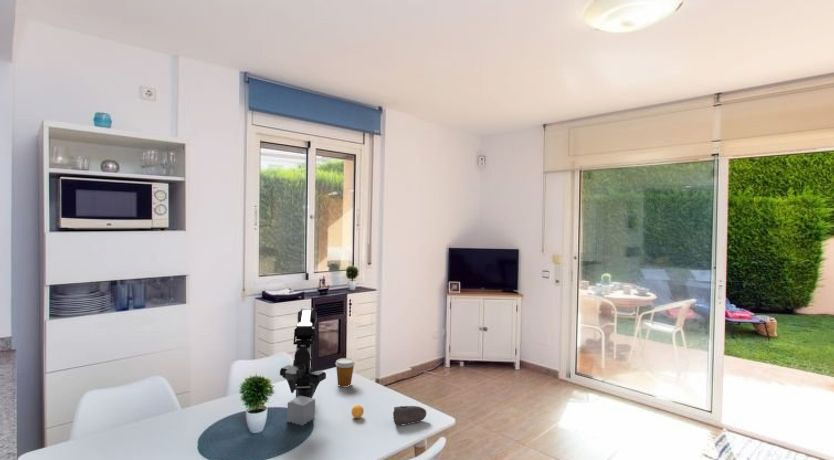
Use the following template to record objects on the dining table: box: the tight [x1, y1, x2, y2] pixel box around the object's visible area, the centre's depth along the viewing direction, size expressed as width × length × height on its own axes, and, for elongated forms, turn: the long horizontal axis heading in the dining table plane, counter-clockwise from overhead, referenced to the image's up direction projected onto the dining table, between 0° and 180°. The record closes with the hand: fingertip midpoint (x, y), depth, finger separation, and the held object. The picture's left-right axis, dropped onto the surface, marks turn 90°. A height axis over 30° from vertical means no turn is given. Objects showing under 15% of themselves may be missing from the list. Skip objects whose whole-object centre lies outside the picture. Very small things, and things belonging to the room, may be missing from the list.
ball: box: [351, 404, 364, 419], centre depth 175 cm, size 5×5×5 cm
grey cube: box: [286, 396, 316, 426], centre depth 171 cm, size 8×8×8 cm
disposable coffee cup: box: [335, 357, 356, 387], centre depth 211 cm, size 10×10×12 cm
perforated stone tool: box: [392, 405, 427, 426], centre depth 172 cm, size 15×5×7 cm, turn 111°
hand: (301, 394), depth 171 cm, fingers open, 9 cm apart
